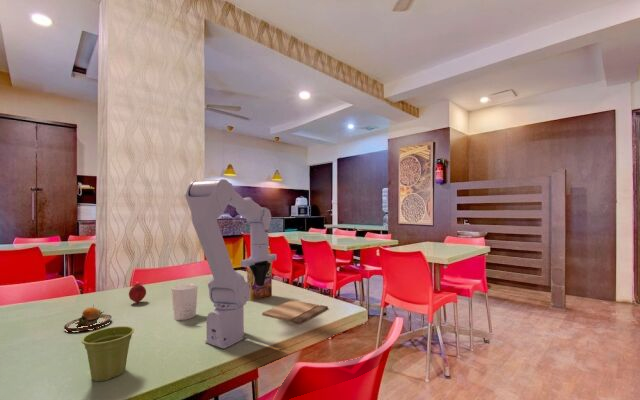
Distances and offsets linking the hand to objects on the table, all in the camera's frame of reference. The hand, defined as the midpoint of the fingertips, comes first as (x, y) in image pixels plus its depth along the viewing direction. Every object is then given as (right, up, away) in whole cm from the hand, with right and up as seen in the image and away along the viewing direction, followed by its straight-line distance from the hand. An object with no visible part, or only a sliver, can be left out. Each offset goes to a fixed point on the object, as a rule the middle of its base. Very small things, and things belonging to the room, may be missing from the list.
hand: (260, 285), depth 99 cm
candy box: (-4, -11, +19) cm, 22 cm away
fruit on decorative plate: (-53, -12, -4) cm, 55 cm away
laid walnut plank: (+17, -10, -1) cm, 20 cm away
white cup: (-26, -11, +2) cm, 28 cm away
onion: (-52, -12, +19) cm, 56 cm away
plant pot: (-27, -10, -33) cm, 44 cm away
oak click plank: (+10, -10, +3) cm, 15 cm away
